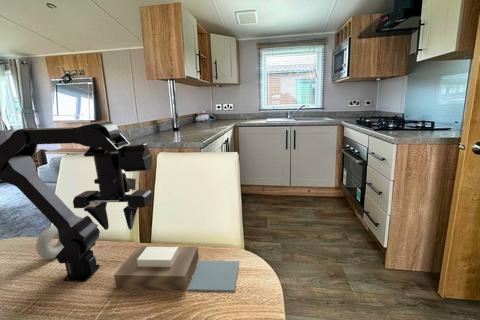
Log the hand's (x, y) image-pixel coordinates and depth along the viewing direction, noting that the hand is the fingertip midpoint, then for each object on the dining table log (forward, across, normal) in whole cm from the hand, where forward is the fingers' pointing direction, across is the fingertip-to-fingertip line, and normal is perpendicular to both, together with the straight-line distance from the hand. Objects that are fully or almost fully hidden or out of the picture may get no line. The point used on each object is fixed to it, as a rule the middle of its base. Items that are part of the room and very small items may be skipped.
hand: (118, 229), depth 68 cm
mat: (+13, -25, +1) cm, 28 cm away
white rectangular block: (+9, -10, 0) cm, 13 cm away
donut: (+13, +26, -7) cm, 30 cm away
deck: (+13, -10, 0) cm, 16 cm away
